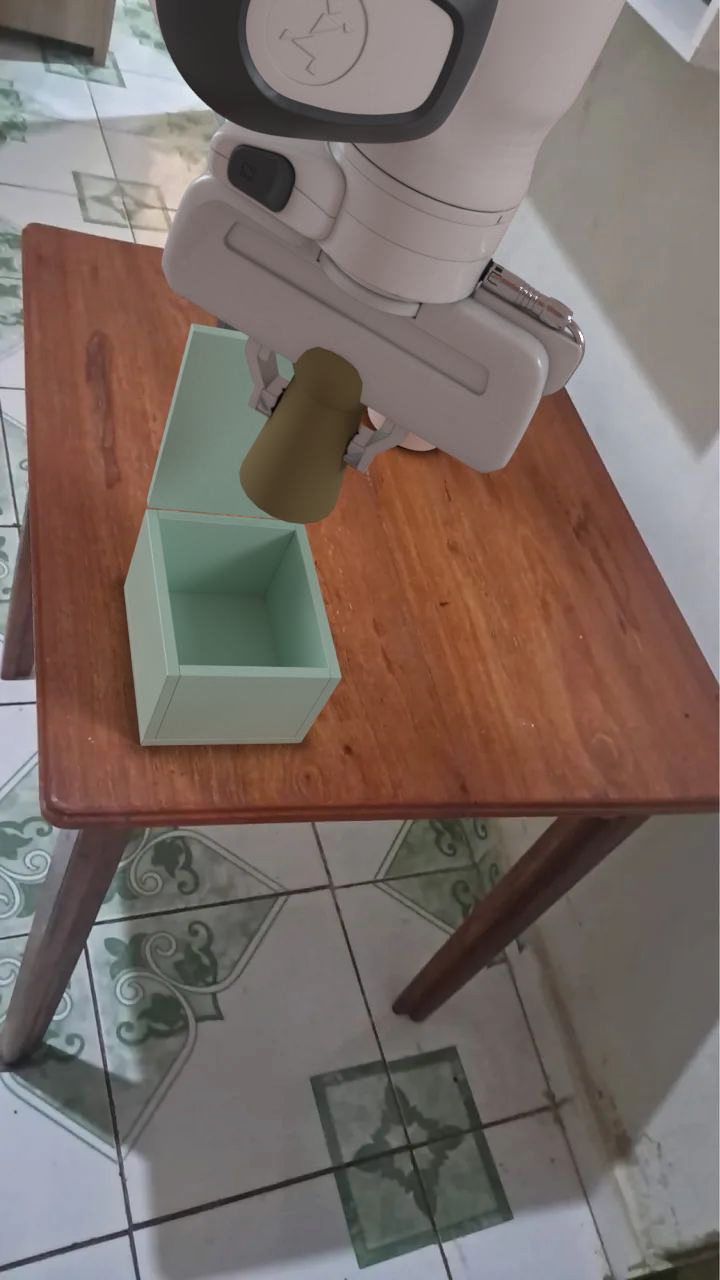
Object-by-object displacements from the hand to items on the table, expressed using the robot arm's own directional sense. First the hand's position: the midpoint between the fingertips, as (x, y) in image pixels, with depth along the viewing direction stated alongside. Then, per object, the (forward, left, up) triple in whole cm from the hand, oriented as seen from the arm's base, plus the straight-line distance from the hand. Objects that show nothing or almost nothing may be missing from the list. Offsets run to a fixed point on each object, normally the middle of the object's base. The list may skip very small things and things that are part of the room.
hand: (309, 434), depth 53 cm
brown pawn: (0, 0, -4) cm, 4 cm away
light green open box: (0, 0, -23) cm, 23 cm away
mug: (+36, +17, -23) cm, 46 cm away
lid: (+3, +6, -7) cm, 10 cm away
